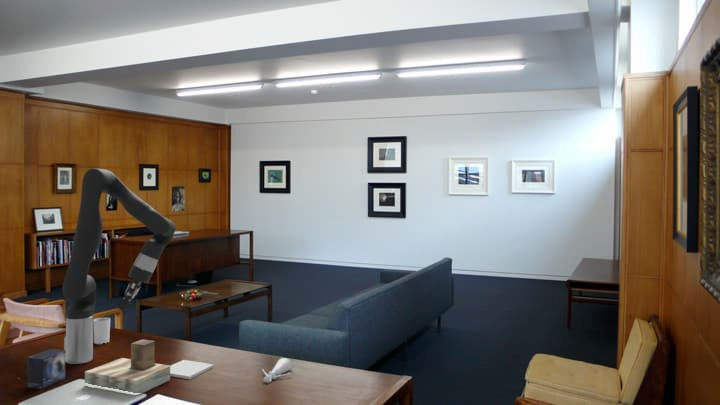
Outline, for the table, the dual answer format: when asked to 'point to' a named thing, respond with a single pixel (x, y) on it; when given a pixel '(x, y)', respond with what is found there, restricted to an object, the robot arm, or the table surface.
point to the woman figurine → (278, 370)
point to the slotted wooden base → (127, 376)
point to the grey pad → (188, 369)
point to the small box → (46, 368)
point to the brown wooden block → (142, 355)
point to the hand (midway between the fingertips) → (123, 308)
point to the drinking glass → (101, 330)
